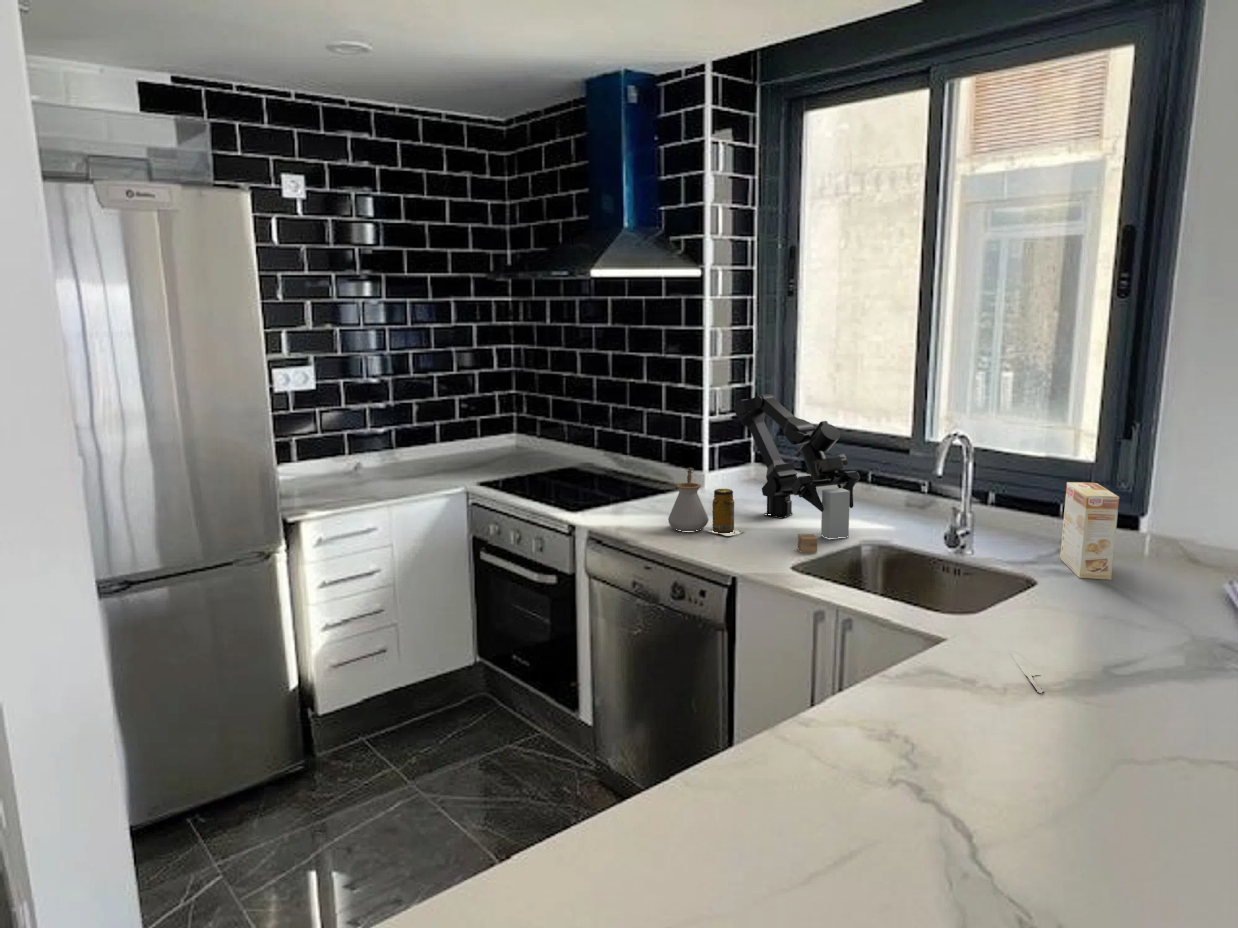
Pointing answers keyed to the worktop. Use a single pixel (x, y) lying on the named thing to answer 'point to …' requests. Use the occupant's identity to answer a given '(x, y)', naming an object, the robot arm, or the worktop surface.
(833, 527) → the block
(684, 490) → the coffee pot
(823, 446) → the robot arm
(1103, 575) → the coffeecake box
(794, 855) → the worktop surface
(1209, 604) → the worktop surface
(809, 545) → the walnut cube
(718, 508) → the condiment
